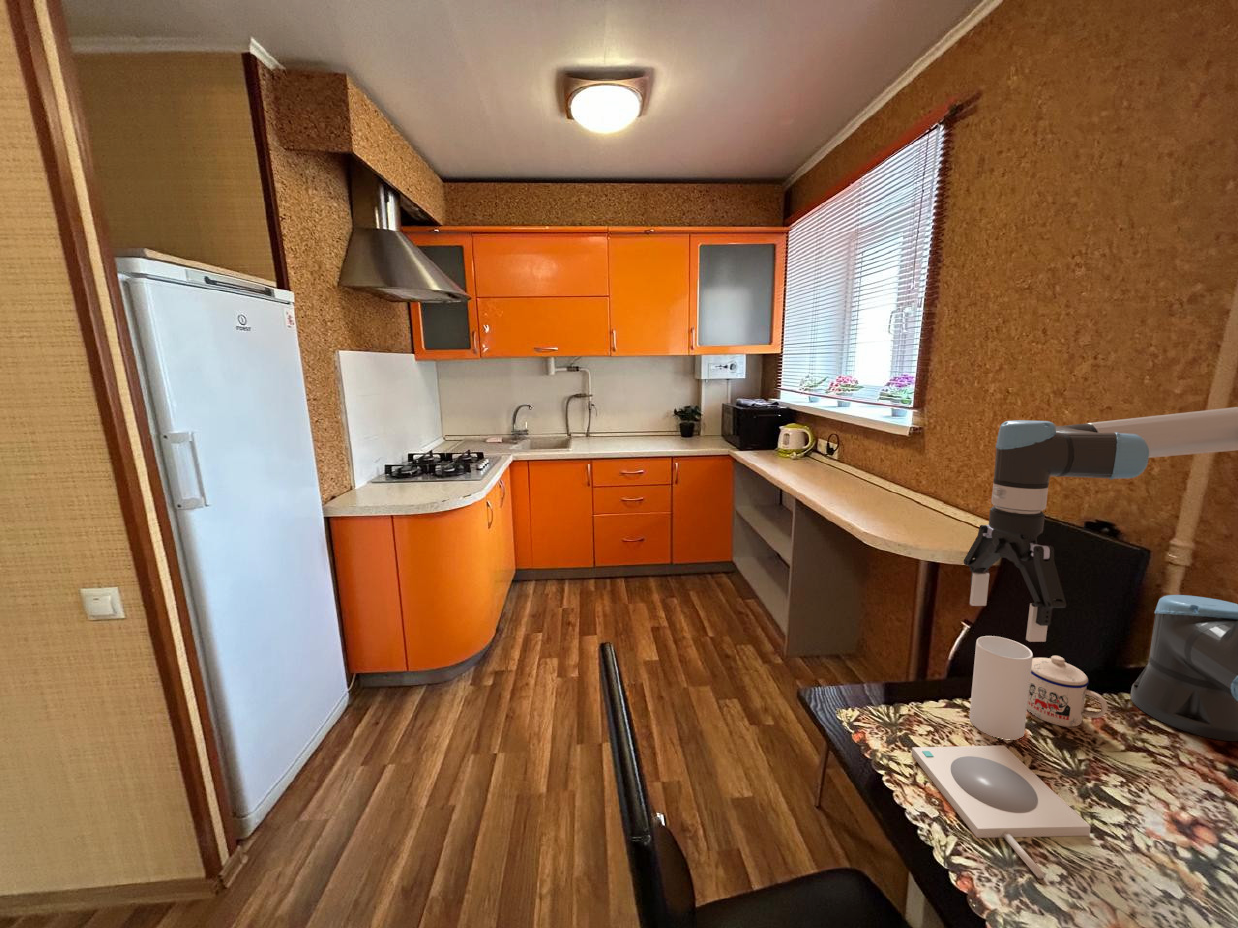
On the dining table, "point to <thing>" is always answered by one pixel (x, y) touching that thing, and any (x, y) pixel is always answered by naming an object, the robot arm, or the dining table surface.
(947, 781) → the pad
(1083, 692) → the teacup with lid
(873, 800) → the dining table surface
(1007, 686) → the cup
